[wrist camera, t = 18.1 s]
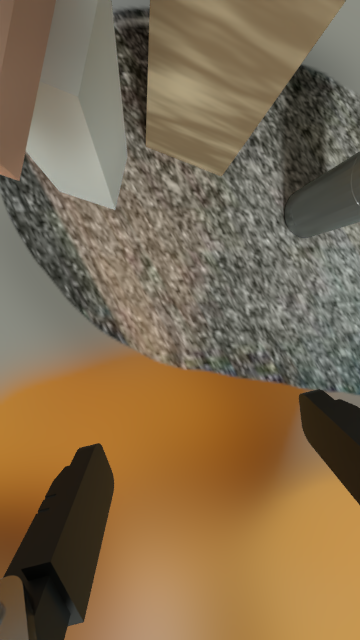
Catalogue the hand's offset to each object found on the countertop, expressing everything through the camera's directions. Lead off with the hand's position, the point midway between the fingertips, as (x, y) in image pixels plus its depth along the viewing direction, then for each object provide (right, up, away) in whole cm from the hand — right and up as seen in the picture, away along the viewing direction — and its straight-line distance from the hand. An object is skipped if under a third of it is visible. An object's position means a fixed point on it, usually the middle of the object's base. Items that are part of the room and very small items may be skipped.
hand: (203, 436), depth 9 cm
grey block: (-15, +29, +28) cm, 43 cm away
